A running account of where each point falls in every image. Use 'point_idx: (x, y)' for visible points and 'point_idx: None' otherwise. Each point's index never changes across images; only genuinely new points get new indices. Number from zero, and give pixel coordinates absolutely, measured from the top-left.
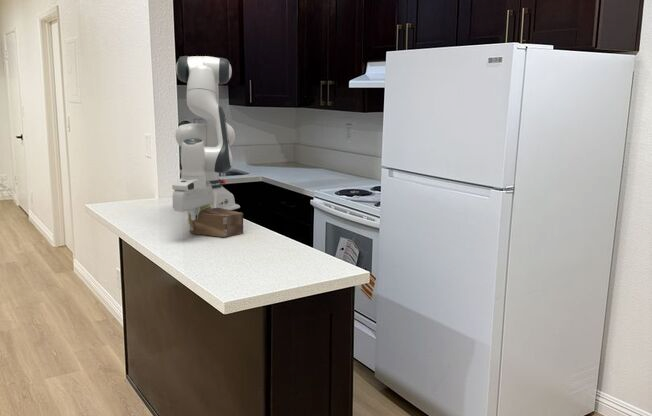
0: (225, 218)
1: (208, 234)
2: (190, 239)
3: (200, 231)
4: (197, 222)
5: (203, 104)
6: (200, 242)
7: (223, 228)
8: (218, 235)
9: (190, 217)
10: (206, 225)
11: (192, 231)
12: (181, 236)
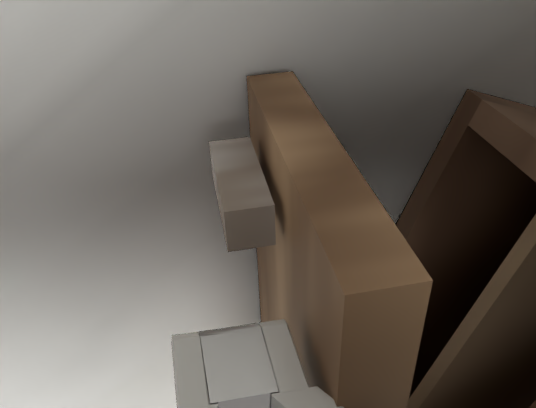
0: None
1: (260, 311)
2: (22, 257)
3: (261, 247)
4: (287, 297)
5: None
6: (9, 388)
7: None
8: None
9: (304, 236)
10: None
11: (254, 129)
12: (53, 67)
